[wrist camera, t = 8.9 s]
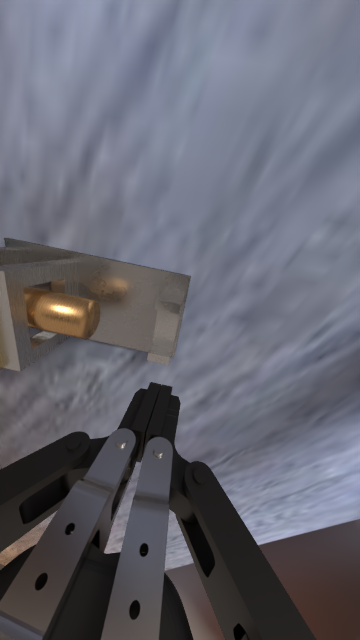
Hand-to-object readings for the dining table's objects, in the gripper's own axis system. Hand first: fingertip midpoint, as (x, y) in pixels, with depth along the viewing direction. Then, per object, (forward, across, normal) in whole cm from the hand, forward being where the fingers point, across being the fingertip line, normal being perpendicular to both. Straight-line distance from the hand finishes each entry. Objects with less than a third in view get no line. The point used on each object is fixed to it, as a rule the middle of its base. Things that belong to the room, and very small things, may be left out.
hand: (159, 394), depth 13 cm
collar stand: (+12, +11, -1) cm, 16 cm away
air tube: (+9, +16, -1) cm, 18 cm away
